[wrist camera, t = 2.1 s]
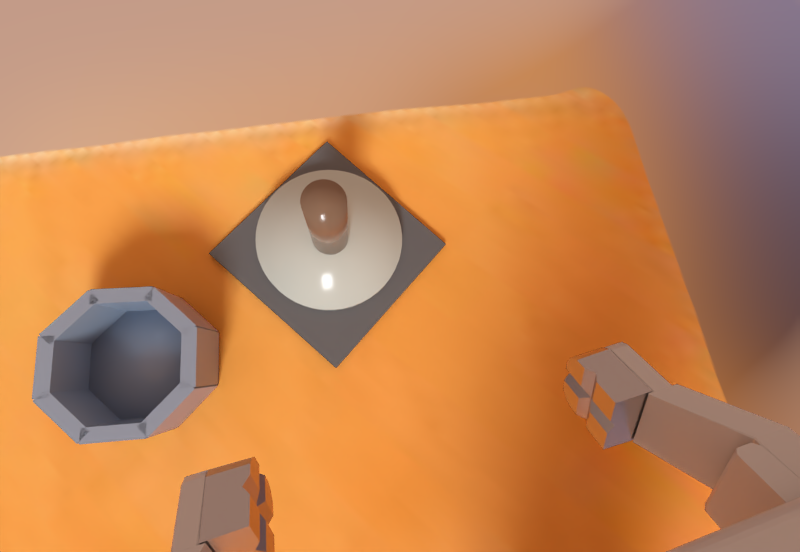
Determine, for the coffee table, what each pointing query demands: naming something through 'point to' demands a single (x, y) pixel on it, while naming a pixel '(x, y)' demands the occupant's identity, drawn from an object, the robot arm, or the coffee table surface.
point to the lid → (328, 240)
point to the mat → (318, 327)
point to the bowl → (125, 365)
